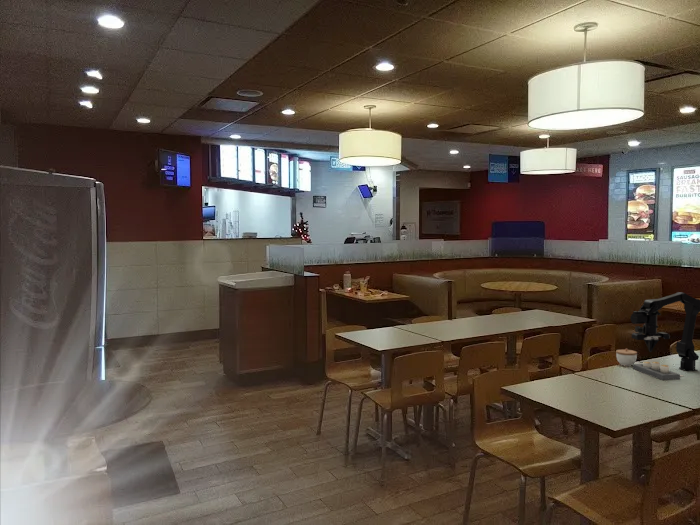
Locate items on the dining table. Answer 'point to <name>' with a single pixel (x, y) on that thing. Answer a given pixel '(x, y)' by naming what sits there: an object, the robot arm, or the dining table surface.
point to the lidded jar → (626, 357)
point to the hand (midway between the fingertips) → (650, 351)
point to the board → (656, 372)
